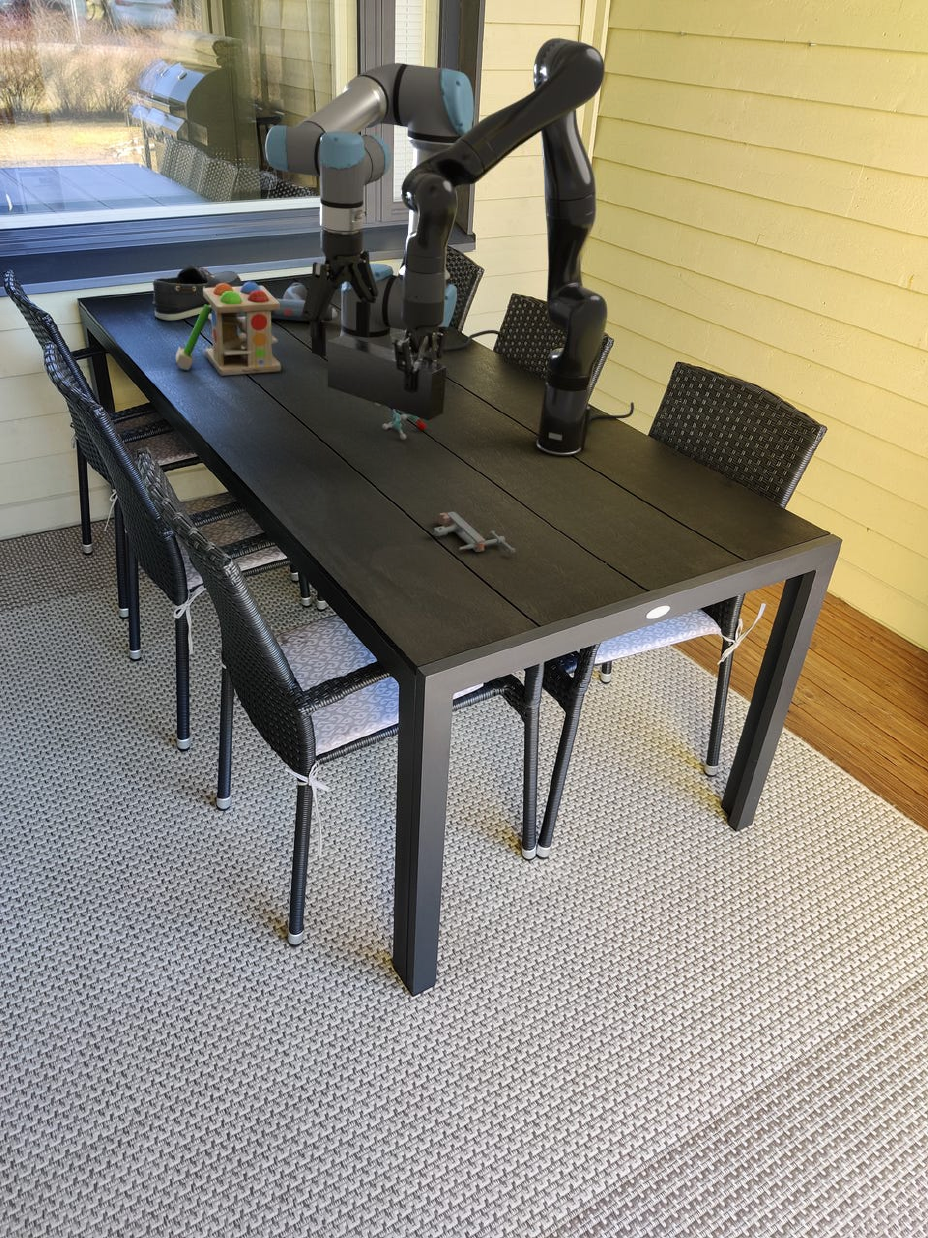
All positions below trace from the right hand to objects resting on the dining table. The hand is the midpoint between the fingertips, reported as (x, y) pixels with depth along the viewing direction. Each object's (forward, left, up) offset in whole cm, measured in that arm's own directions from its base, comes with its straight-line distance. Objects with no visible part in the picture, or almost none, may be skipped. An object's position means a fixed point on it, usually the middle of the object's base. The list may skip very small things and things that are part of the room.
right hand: (418, 387), depth 181 cm
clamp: (+4, +27, -18) cm, 33 cm away
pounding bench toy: (+14, -67, -18) cm, 71 cm away
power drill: (-19, -98, -18) cm, 101 cm away
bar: (+3, -7, -5) cm, 9 cm away
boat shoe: (+5, -112, -18) cm, 113 cm away
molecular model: (-7, -19, -18) cm, 27 cm away
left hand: (+8, -17, +3) cm, 19 cm away
